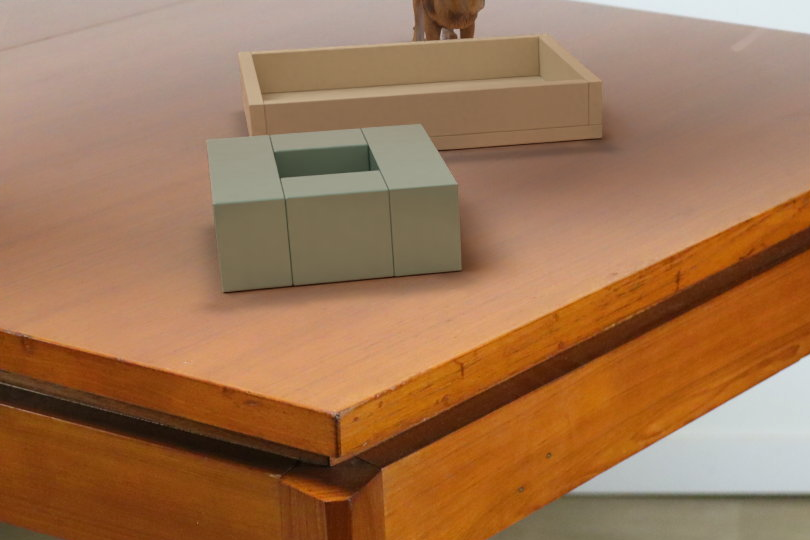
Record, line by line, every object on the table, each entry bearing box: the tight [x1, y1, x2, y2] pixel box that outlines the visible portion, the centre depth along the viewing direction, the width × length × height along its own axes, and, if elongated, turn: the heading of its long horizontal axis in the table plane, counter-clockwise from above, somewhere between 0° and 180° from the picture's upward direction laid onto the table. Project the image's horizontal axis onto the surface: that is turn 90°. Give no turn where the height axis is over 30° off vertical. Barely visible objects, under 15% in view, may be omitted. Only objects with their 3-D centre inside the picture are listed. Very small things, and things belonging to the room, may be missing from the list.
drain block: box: [205, 124, 463, 293], centre depth 70 cm, size 10×10×4 cm
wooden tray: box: [237, 33, 603, 151], centre depth 90 cm, size 20×14×3 cm
